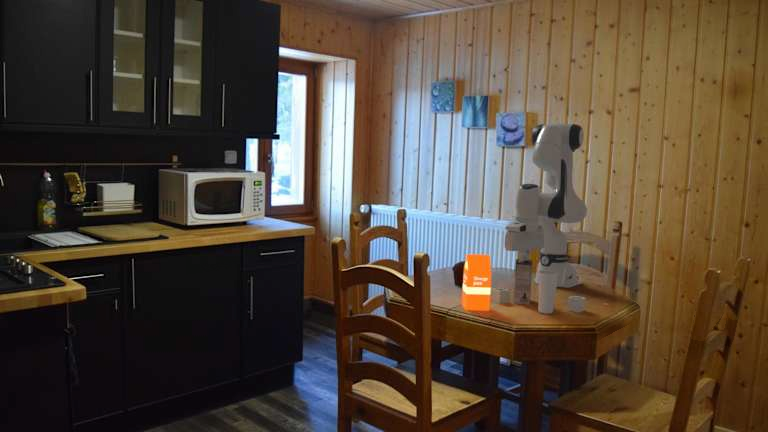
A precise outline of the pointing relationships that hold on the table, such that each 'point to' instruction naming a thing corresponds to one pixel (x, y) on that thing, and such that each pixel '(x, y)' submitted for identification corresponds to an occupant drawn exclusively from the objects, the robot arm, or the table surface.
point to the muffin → (458, 273)
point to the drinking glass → (546, 291)
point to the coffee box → (522, 282)
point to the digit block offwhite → (576, 304)
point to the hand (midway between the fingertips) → (524, 261)
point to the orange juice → (476, 282)
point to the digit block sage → (500, 295)
